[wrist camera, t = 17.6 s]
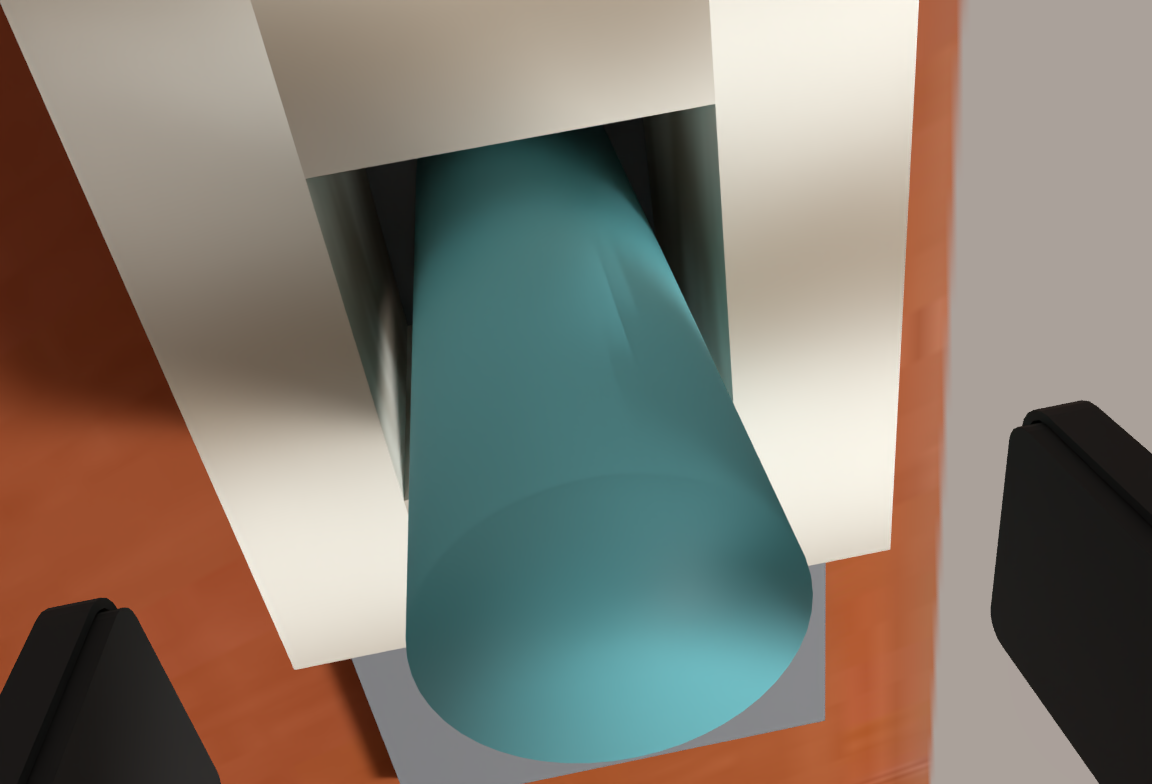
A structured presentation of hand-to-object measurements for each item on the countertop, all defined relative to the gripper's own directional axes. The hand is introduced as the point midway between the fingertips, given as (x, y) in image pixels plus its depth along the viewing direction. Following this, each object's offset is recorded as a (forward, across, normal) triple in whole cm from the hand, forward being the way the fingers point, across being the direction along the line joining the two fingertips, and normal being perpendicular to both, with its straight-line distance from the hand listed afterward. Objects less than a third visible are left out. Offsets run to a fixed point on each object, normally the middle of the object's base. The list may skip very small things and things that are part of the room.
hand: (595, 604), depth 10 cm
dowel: (+11, 0, -1) cm, 11 cm away
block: (+11, 0, -1) cm, 11 cm away
